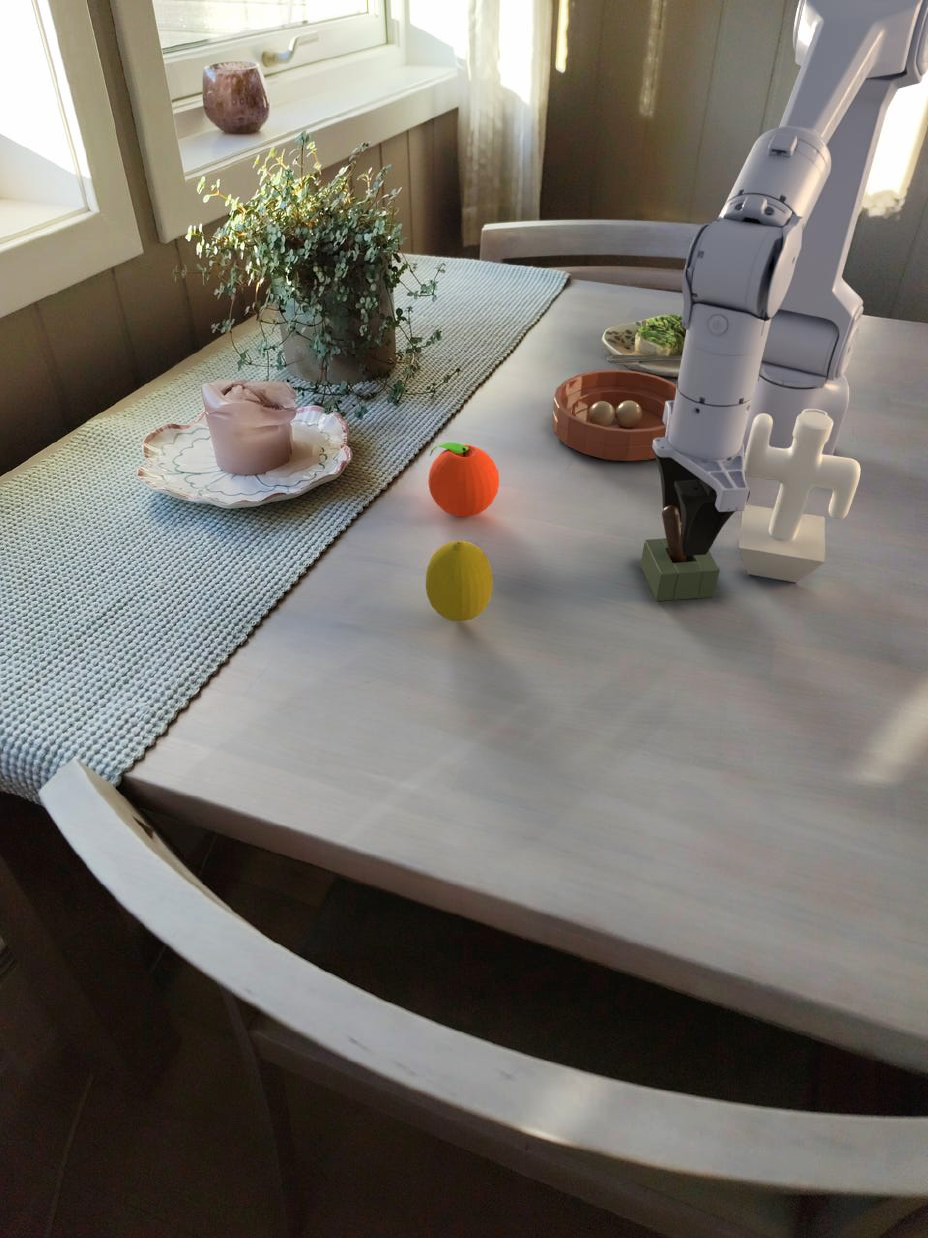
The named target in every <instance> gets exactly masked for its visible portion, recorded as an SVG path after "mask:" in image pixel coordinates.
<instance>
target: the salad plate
mask: <svg viewBox="0 0 928 1238" xmlns="http://www.w3.org/2000/svg"><path fill="white" fill-rule="evenodd" d="M682 315H683V314H662V315H657V316H654V317H650V318H649V317H648V318H646V319H642V320H641V319H640V320H638V321H633V322H626V323H622V324H618V325H613V326H610V327H608V328H606V329H605V331H604V332H603V334H602V337H601V339H600V342H601V344H602V345H604V347H605V348H606V350H607V351H608V353H610V355H608V356H607V362H609V363H611V364H615V365H620V366H621V365H622V366H626V367H627V368H628V369H629V370H631V371H637V372H642V373H646V374H651V375H655V376H662V377H670V378H678V377H679V371H680V365H681V359H682V354H683V348H684V342H685V336H686V330H687V329H685V328H684V327H682V322H681V321H682Z"/></svg>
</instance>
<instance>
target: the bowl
mask: <svg viewBox="0 0 928 1238" xmlns="http://www.w3.org/2000/svg"><path fill="white" fill-rule="evenodd" d="M676 389H677V384H676V383H675V382H673V381H671V380H668V379H665V378H664V377H660V376H659V375H655V374H650V373H646V372H639V371H635V370H627V369H626V370H625V369H624V370H623V369H602V370H601V369H600V370H594V371H587V372H583V373H579V374H576V375H574V376H572V377H569V378H568V379H565V380H564V381H563V382H562V383H560V384H559V386H557V387H556V389H555V393H554V397H553V407H552V421H551V427H552V429H553V432H554V434H555V436H556V437H557V438H558V439H559V440H560V441H561V442H562V443H564V445H566V446H568V447H569V448H571V449H573V450H576V451H578V452H579V453H582V454H585V455H588V456H592V457H596V458H599V459H603V460H609V461H610V460H611V461H622V462H636V461H649V460H653V459H656V457H655V454H654V452H653V449H652V444H653V440H654V439H655V438H662V437H665V435H666V425H665V424H664V423H663V421H662V420H663V414H664V408H665V402H666V401H674V400H675V395H676ZM599 401H605V402H608V403H610V404H611V405H612V406H613V408H614V411H615V412H616V409H617V407H618V406H619V405H620V404H621V403H622V402H624V401H634V402H636V403H637V404H639V406H640V407H641V410H642V417H641V420H640V422H639V423H638V424H637V425H635V426H634V427H630V428H626V427H623V426H621V425H620V424H619V423H618V422H617V420H616V418H614V421H613V422H612V424H611V425H609V426H608V427H604V426H600V425H596V424H592V423H590V421H589V417H588V413H589V410H590V408H591V406H592V405H593V404H595V403H596V402H599Z"/></svg>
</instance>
